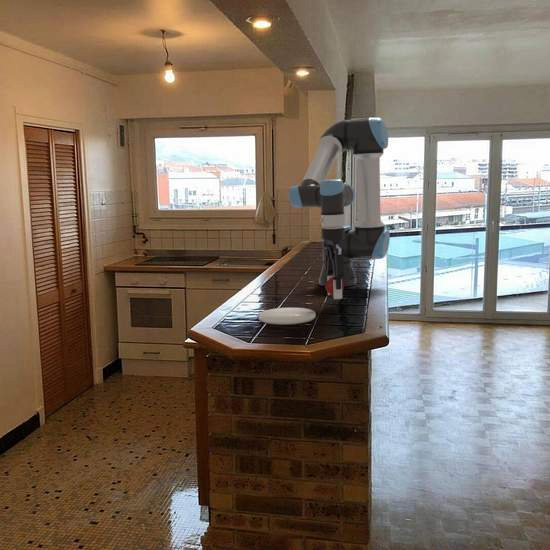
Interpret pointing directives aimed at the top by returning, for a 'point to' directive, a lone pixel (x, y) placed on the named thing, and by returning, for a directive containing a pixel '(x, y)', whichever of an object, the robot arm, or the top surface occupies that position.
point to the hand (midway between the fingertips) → (334, 296)
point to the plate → (287, 315)
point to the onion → (331, 286)
